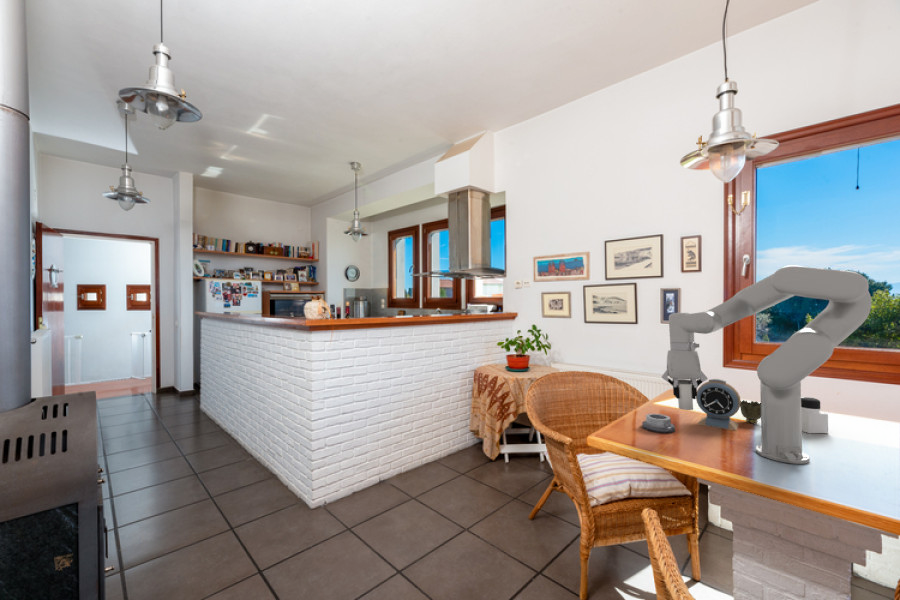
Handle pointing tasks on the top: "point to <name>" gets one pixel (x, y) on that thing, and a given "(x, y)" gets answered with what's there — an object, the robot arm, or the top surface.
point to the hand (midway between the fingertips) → (685, 397)
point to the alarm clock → (718, 404)
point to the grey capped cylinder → (685, 394)
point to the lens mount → (658, 423)
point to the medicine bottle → (813, 416)
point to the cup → (751, 411)
